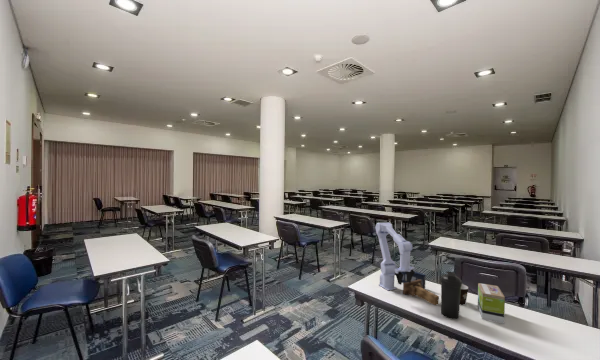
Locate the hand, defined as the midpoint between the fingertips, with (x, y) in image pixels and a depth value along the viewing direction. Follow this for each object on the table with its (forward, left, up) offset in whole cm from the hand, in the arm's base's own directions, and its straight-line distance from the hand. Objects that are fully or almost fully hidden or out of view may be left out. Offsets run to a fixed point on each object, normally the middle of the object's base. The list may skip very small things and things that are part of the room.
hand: (404, 283), depth 161 cm
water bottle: (+24, +9, -10) cm, 28 cm away
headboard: (-2, +13, -10) cm, 16 cm away
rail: (+5, +13, -10) cm, 17 cm away
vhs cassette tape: (-13, +21, -10) cm, 27 cm away
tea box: (+33, +30, -10) cm, 46 cm away
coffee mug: (+16, +27, -10) cm, 33 cm away
